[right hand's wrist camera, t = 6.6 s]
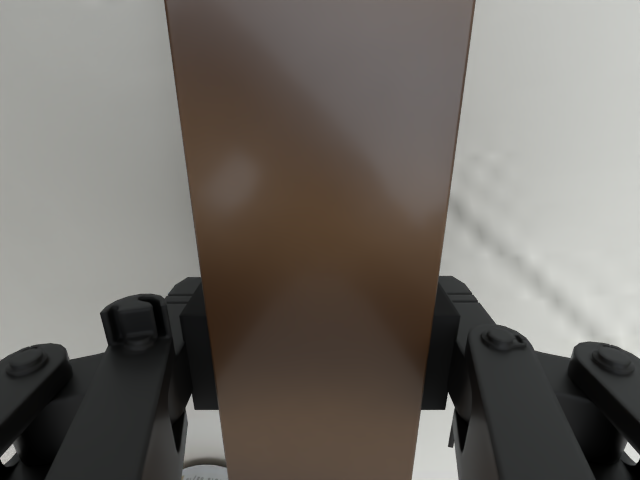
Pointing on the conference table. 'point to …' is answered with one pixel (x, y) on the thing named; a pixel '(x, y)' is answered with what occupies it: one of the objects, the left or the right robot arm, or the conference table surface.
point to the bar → (319, 219)
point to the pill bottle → (205, 473)
